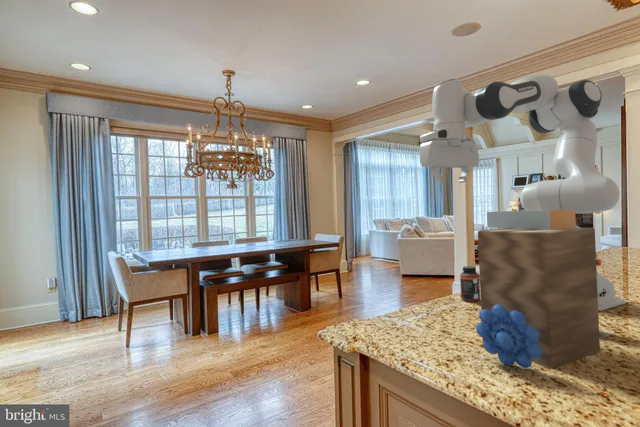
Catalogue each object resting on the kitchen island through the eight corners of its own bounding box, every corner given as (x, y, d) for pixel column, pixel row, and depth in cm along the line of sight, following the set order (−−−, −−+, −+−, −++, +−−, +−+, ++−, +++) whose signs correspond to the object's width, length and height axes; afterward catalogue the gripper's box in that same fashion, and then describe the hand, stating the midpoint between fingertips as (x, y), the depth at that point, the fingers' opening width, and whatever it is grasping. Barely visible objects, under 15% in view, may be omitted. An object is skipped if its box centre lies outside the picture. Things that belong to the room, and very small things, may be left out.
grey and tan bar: (487, 227, 91) (486, 212, 91) (498, 226, 93) (497, 211, 93) (564, 229, 74) (563, 210, 74) (576, 228, 76) (575, 209, 76)
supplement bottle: (482, 302, 116) (480, 268, 116) (463, 302, 117) (461, 268, 117) (477, 298, 122) (476, 265, 122) (459, 297, 123) (458, 265, 123)
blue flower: (471, 366, 70) (468, 306, 70) (480, 355, 75) (477, 299, 75) (540, 382, 63) (537, 315, 63) (544, 367, 68) (541, 306, 68)
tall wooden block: (482, 342, 82) (477, 230, 82) (527, 329, 89) (523, 226, 89) (552, 368, 68) (546, 232, 68) (600, 351, 74) (594, 227, 74)
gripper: (466, 139, 111) (468, 183, 111) (415, 136, 103) (417, 183, 103) (483, 135, 105) (485, 181, 106) (430, 131, 97) (433, 181, 97)
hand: (451, 182), depth 104 cm, fingers open, 8 cm apart
